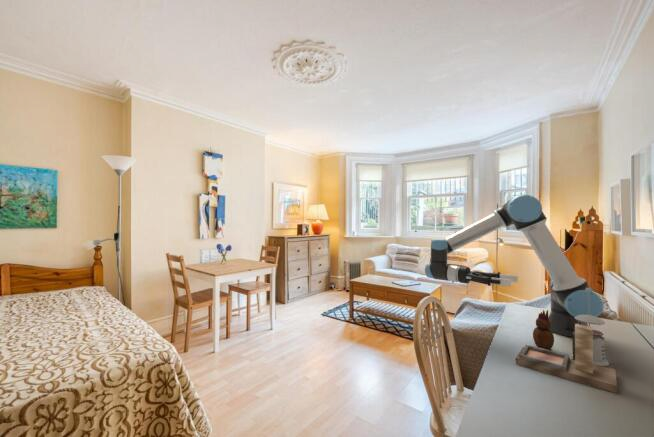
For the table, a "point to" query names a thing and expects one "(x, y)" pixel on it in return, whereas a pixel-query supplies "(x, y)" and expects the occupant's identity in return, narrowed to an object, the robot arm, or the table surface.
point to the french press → (595, 336)
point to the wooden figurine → (543, 332)
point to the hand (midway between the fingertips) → (514, 281)
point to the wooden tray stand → (571, 361)
